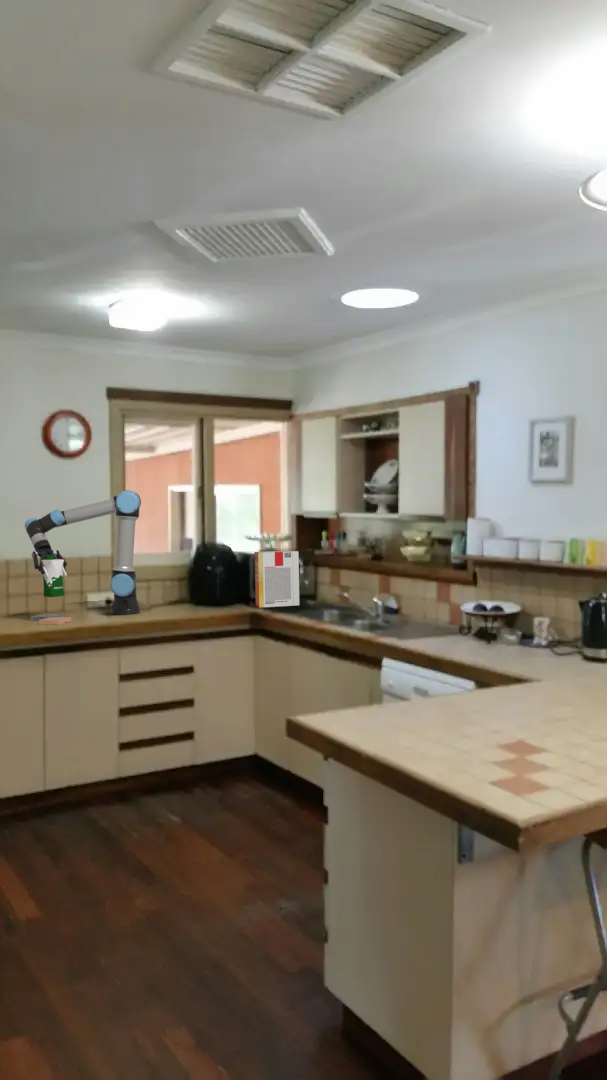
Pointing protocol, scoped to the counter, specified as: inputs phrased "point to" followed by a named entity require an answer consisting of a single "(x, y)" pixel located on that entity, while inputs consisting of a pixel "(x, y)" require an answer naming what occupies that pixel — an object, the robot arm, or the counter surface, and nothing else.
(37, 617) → the slate tile
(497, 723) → the counter surface
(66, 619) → the terracotta tile
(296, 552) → the pasta box
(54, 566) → the soya milk
